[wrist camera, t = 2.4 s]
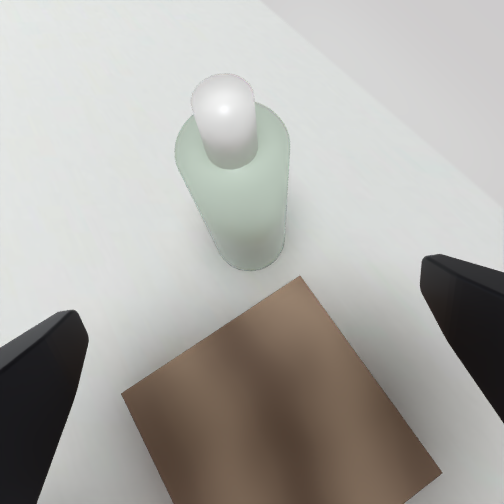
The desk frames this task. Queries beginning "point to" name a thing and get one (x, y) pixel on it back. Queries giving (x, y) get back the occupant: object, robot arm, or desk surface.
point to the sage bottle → (236, 170)
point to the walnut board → (277, 415)
